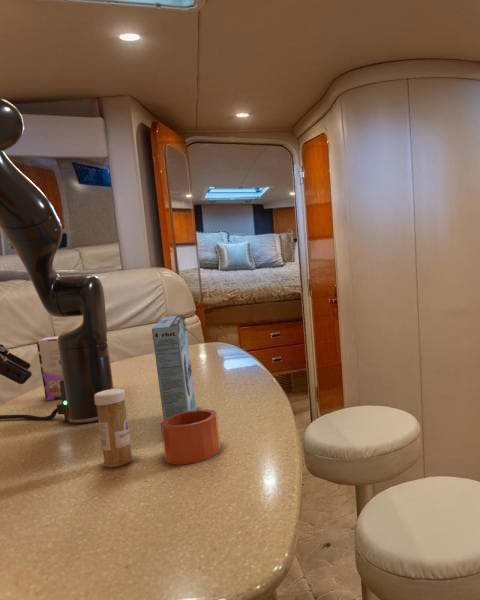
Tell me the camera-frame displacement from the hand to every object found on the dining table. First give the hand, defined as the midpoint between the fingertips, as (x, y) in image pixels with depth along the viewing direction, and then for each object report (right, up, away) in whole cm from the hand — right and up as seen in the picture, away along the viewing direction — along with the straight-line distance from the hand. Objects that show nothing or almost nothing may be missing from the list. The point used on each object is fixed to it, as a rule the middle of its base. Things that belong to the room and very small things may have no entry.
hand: (27, 374), depth 83 cm
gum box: (+10, -15, +29) cm, 34 cm away
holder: (+21, -17, +12) cm, 30 cm away
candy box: (-32, -14, +56) cm, 66 cm away
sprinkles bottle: (+9, -18, +9) cm, 22 cm away
